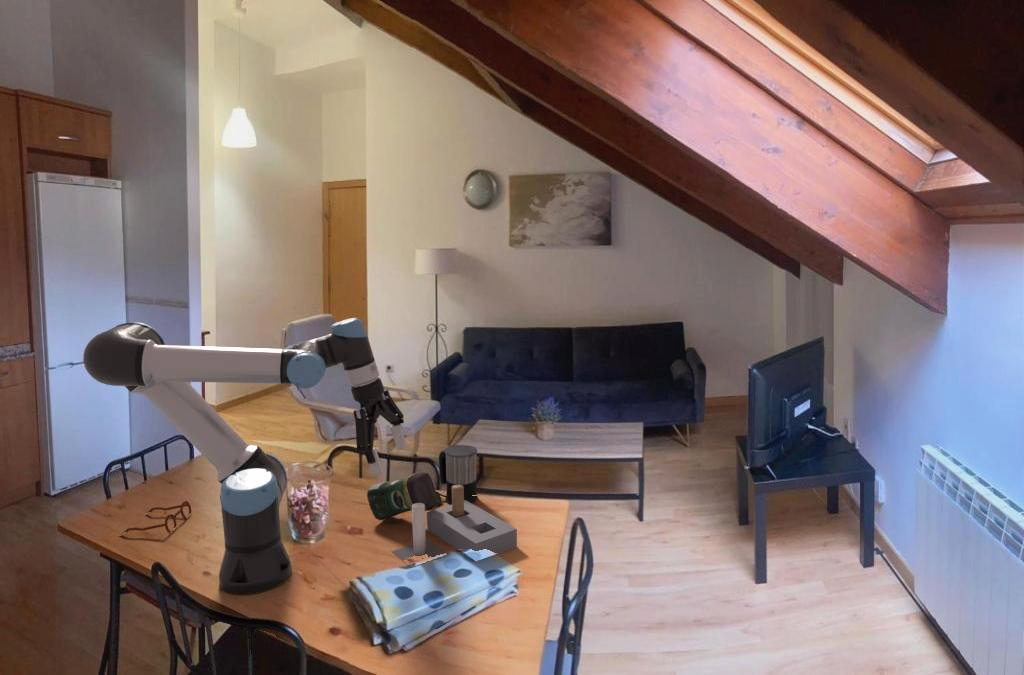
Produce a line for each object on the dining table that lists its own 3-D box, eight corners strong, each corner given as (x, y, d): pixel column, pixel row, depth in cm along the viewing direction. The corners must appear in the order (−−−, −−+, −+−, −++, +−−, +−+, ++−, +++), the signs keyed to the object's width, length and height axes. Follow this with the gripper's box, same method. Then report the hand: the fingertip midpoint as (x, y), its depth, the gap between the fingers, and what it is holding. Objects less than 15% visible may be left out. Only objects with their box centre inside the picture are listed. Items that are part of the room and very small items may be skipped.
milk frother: (484, 497, 196) (483, 447, 193) (452, 517, 182) (451, 465, 180) (444, 487, 203) (443, 440, 200) (410, 507, 190) (409, 456, 187)
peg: (417, 557, 160) (415, 509, 158) (411, 552, 162) (409, 505, 160) (428, 553, 162) (427, 505, 160) (422, 548, 164) (420, 501, 162)
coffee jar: (393, 512, 186) (444, 501, 176) (374, 524, 179) (426, 513, 169) (382, 479, 186) (432, 466, 176) (362, 489, 179) (413, 477, 169)
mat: (411, 569, 155) (411, 567, 155) (391, 553, 163) (391, 551, 163) (448, 556, 161) (448, 554, 161) (427, 540, 169) (427, 539, 169)
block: (476, 563, 158) (475, 514, 156) (427, 530, 175) (425, 486, 173) (516, 548, 165) (516, 501, 163) (466, 517, 182) (465, 475, 180)
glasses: (169, 537, 174) (167, 519, 173) (118, 538, 173) (116, 520, 173) (193, 515, 186) (191, 498, 186) (145, 516, 186) (143, 499, 186)
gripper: (352, 398, 152) (380, 483, 156) (400, 362, 174) (424, 437, 179) (324, 403, 154) (352, 486, 159) (375, 366, 177) (399, 441, 182)
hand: (390, 461), depth 169 cm, fingers open, 13 cm apart
